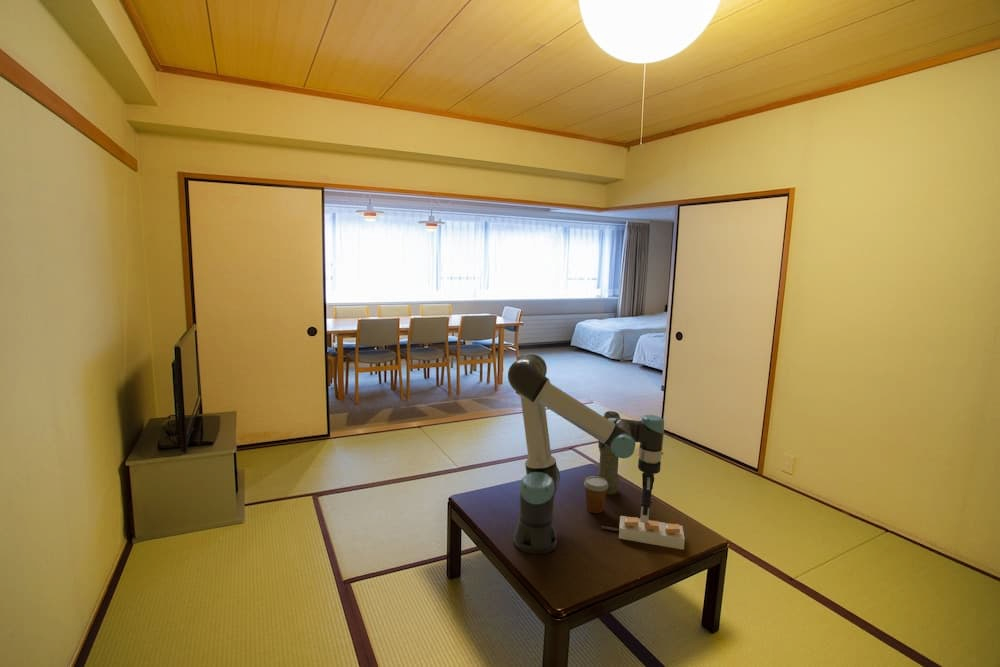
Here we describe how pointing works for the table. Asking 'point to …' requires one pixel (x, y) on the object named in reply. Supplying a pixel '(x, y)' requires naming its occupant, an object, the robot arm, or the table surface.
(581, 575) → the table surface
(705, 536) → the table surface
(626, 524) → the orange block
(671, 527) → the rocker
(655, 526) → the orange block
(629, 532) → the power strip
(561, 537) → the table surface
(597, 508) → the disposable coffee cup
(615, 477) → the stone tower
